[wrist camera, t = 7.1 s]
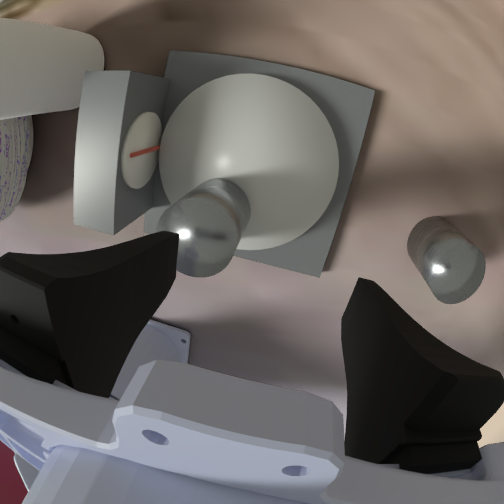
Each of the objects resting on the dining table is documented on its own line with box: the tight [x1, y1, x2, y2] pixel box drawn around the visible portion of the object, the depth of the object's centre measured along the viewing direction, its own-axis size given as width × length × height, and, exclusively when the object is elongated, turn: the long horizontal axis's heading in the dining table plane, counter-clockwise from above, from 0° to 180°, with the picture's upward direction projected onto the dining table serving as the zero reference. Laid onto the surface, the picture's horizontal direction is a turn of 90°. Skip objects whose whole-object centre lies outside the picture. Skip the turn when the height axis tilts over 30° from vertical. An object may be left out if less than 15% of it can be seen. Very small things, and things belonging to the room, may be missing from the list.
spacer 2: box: [407, 217, 486, 304], centre depth 18 cm, size 4×4×5 cm
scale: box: [74, 50, 375, 278], centre depth 17 cm, size 13×16×6 cm
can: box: [0, 18, 104, 120], centre depth 12 cm, size 6×6×12 cm
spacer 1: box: [156, 178, 251, 277], centre depth 17 cm, size 4×4×5 cm
